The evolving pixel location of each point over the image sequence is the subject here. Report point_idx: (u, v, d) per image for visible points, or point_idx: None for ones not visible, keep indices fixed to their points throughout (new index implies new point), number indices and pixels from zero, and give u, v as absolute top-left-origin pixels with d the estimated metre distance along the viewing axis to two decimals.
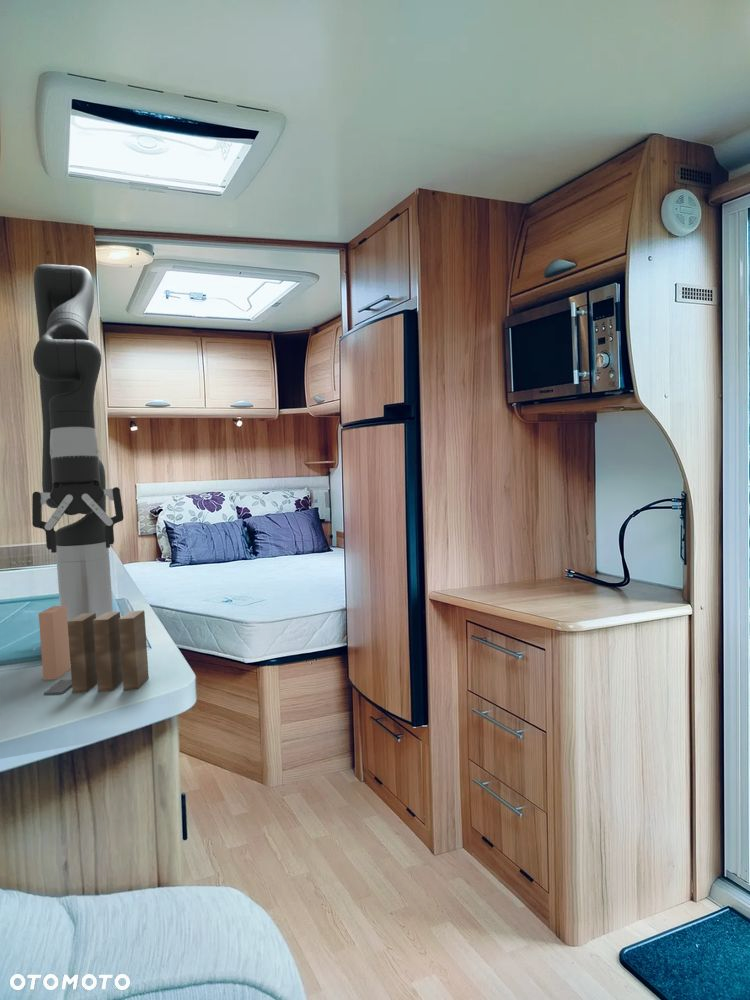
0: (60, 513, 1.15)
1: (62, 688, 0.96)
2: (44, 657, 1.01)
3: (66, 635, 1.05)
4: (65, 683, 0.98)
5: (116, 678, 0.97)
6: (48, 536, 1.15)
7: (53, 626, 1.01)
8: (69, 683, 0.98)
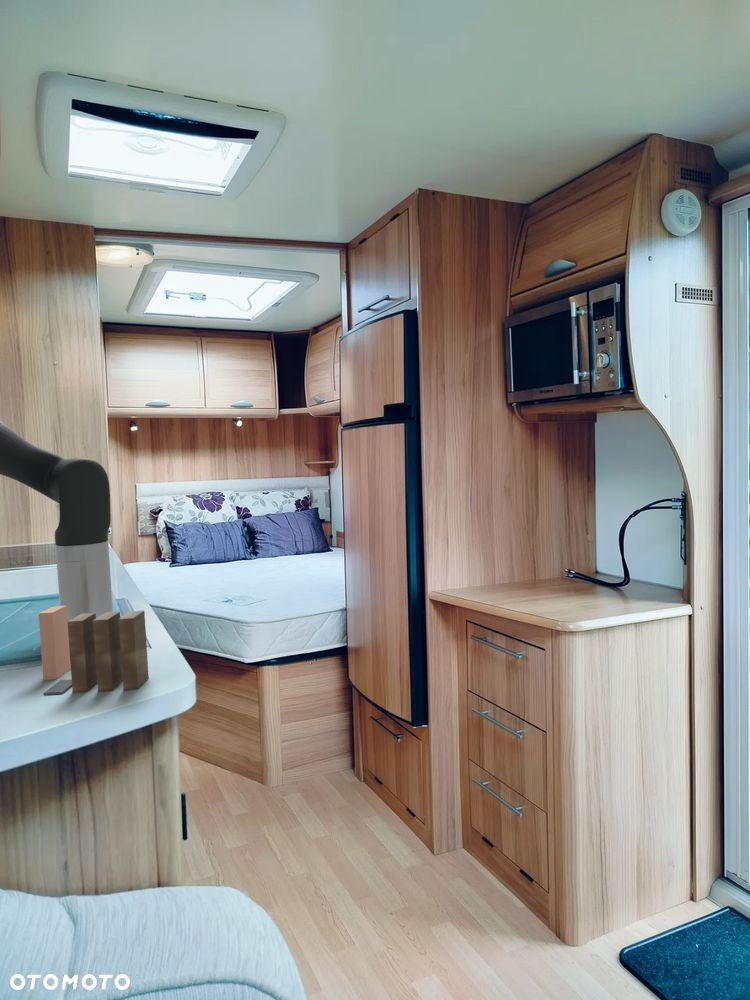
0: None
1: (62, 688, 0.96)
2: (44, 657, 1.01)
3: (66, 635, 1.05)
4: (65, 683, 0.98)
5: (116, 678, 0.97)
6: None
7: (53, 626, 1.01)
8: (69, 683, 0.98)
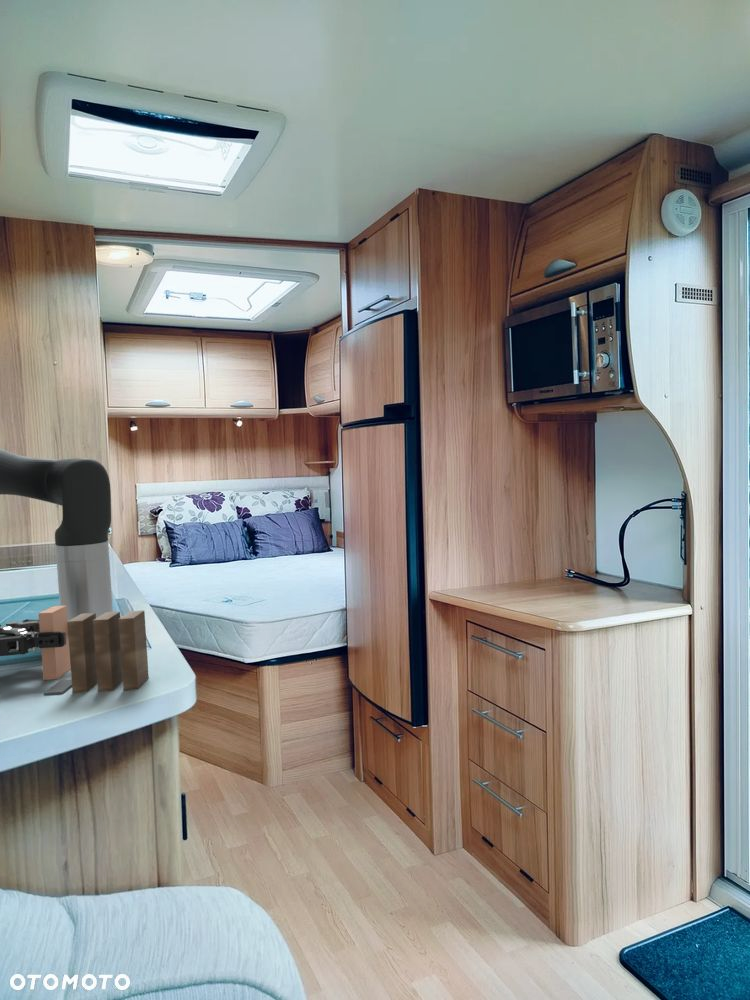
0: None
1: (62, 688, 0.96)
2: (44, 657, 1.01)
3: (66, 635, 1.05)
4: (65, 683, 0.98)
5: (116, 678, 0.97)
6: None
7: (53, 626, 1.01)
8: (69, 683, 0.98)
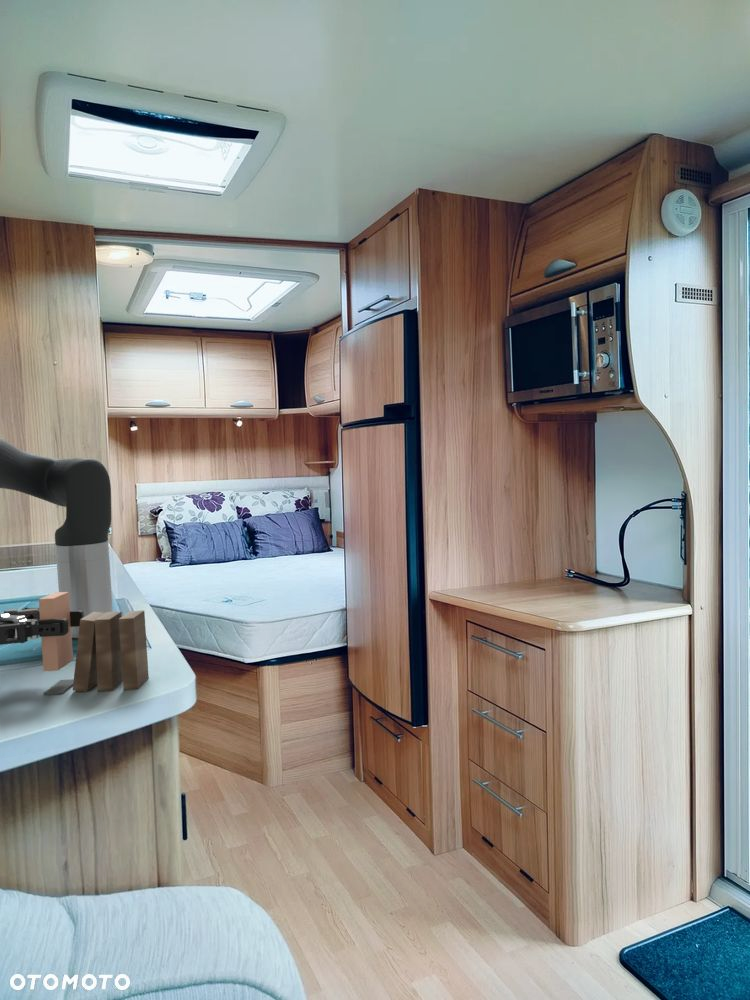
0: None
1: (62, 688, 0.96)
2: (45, 646, 0.94)
3: (68, 623, 0.98)
4: (65, 683, 0.98)
5: (116, 678, 0.97)
6: None
7: (54, 613, 0.94)
8: (69, 683, 0.98)
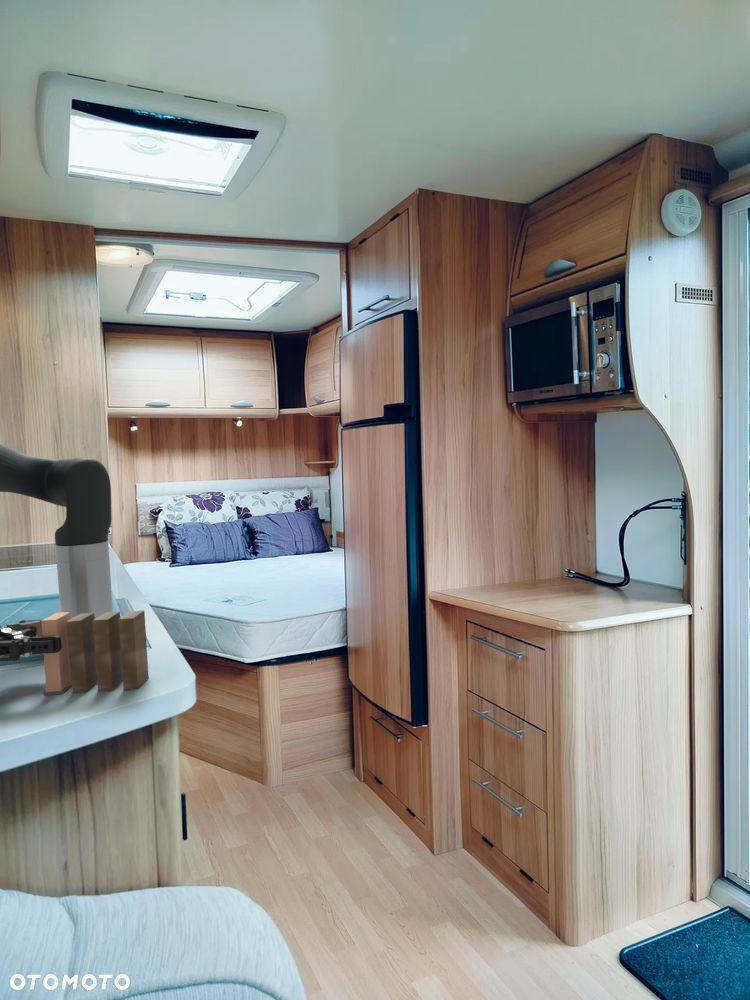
0: None
1: None
2: (47, 667, 0.94)
3: None
4: None
5: (116, 678, 0.97)
6: None
7: (57, 634, 0.94)
8: None
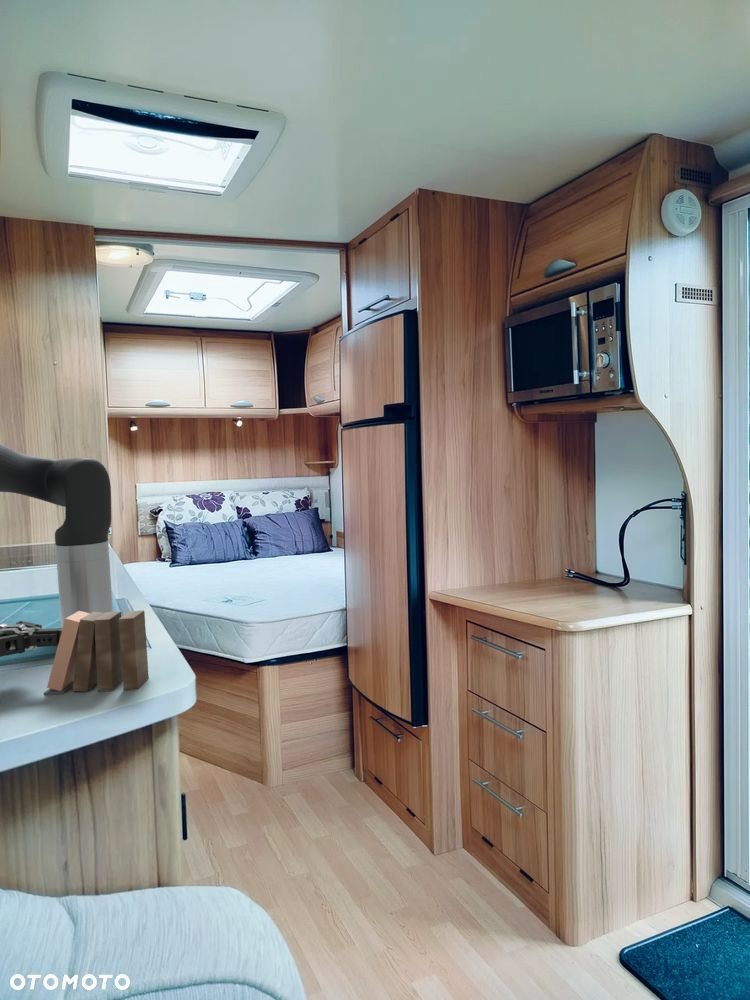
0: None
1: None
2: (56, 664, 0.94)
3: None
4: None
5: (116, 678, 0.97)
6: None
7: (75, 636, 0.94)
8: None
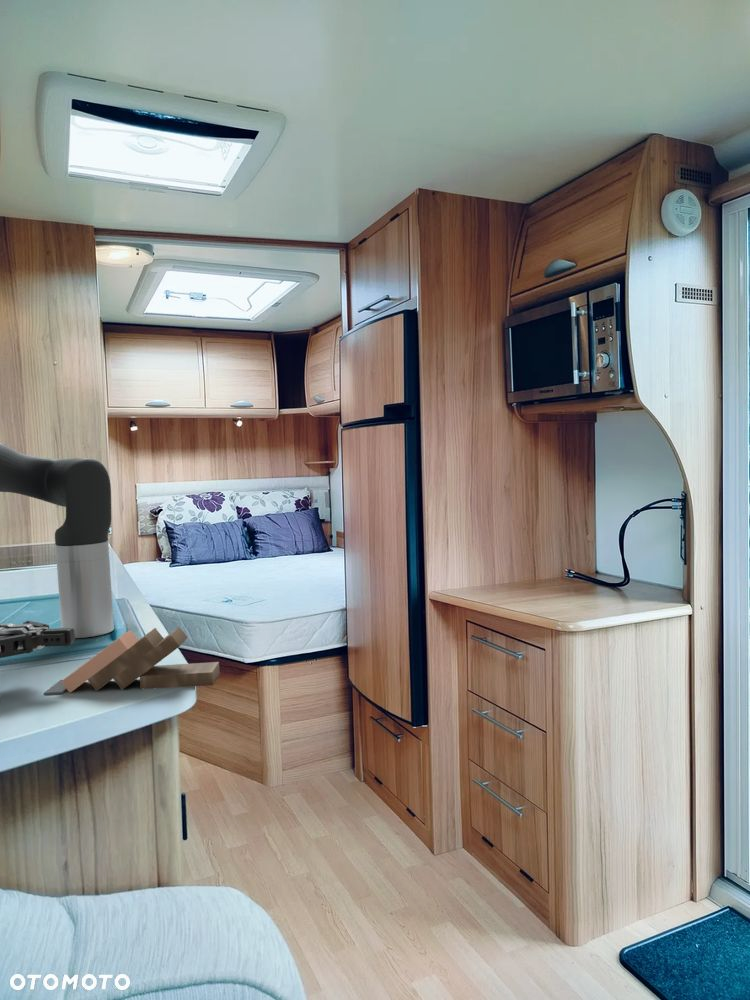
0: None
1: (62, 688, 0.96)
2: (82, 669, 0.94)
3: None
4: None
5: None
6: None
7: None
8: None
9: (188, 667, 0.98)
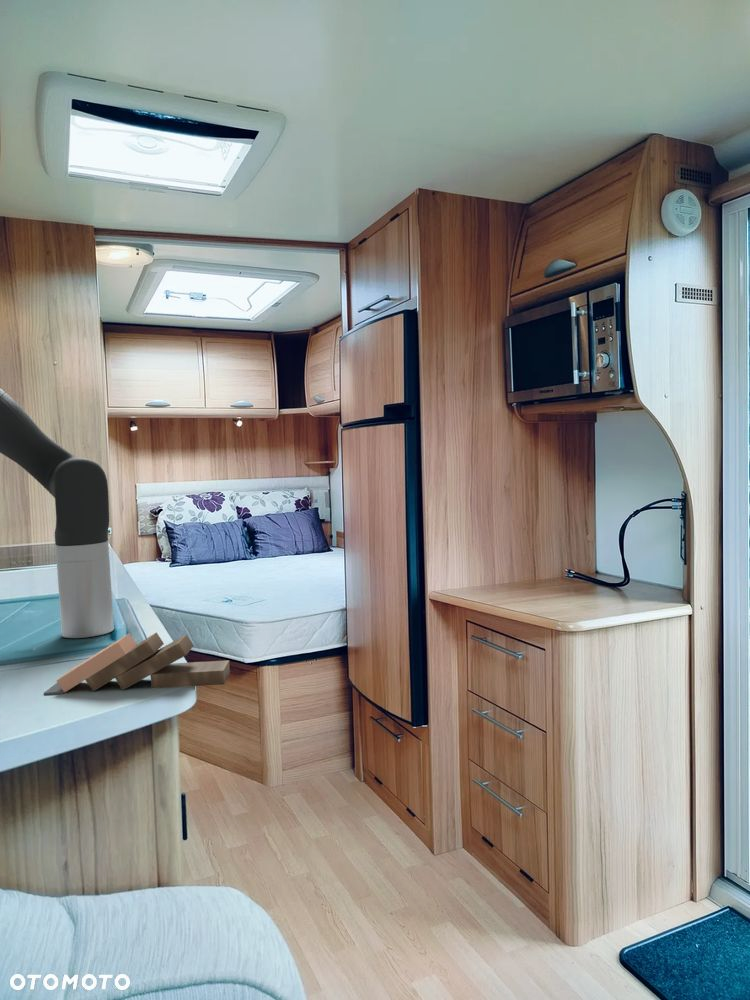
0: None
1: None
2: (79, 670, 0.94)
3: None
4: None
5: None
6: None
7: (113, 661, 0.95)
8: None
9: (198, 665, 0.98)
